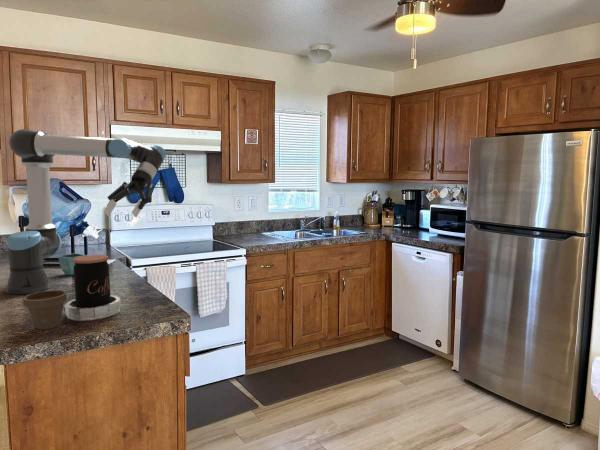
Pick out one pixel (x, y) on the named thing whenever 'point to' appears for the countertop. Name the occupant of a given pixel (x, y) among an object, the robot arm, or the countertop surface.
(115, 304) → the cup bracket
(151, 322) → the countertop surface
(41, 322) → the flower pot
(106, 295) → the coffee jar
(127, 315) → the countertop surface
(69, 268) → the flower pot
